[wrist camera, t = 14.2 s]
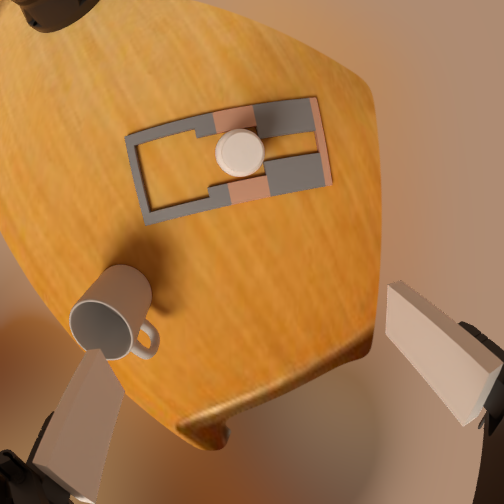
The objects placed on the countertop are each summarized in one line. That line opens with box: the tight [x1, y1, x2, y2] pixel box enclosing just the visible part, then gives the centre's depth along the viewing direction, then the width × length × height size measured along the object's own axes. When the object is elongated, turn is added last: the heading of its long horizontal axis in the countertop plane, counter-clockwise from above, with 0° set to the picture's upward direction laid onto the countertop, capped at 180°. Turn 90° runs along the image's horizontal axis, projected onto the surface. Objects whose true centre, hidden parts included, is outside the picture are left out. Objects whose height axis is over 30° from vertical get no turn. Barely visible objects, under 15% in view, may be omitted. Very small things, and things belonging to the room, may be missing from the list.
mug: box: [69, 265, 160, 360], centre depth 33 cm, size 12×8×11 cm
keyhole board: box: [125, 98, 332, 226], centre depth 34 cm, size 12×25×1 cm, turn 101°
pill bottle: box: [215, 129, 265, 177], centre depth 30 cm, size 5×5×9 cm
